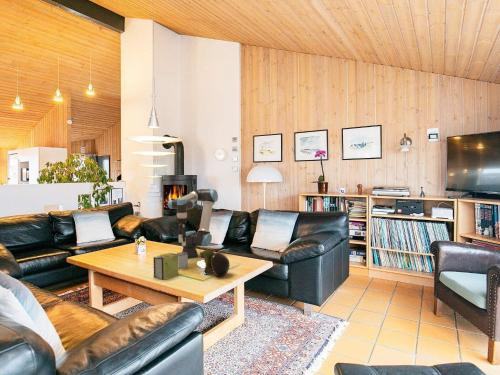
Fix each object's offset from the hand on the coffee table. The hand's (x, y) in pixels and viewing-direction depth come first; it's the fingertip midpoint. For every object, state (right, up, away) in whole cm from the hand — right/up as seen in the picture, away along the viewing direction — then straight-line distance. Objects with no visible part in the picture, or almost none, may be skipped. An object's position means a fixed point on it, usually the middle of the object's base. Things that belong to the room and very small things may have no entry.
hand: (182, 244), depth 250 cm
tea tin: (0, -20, +1) cm, 20 cm away
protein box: (-8, -21, -19) cm, 29 cm away
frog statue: (+28, -20, -15) cm, 38 cm away
